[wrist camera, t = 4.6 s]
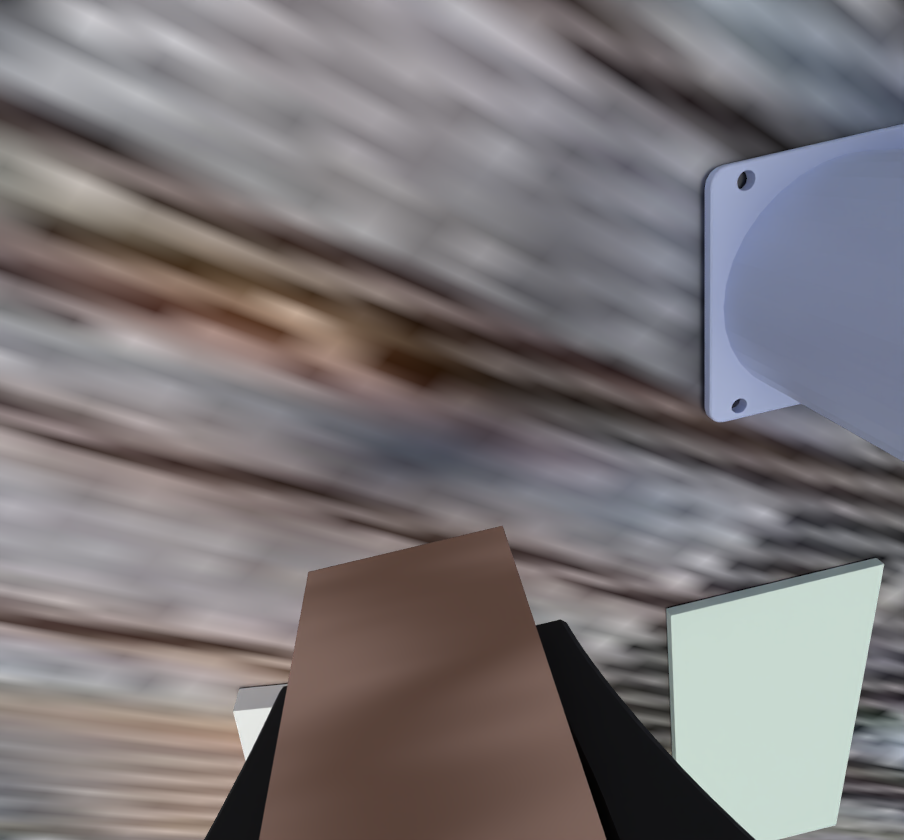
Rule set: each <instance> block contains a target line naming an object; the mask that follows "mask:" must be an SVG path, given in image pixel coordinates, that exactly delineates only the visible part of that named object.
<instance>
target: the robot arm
mask: <svg viewBox="0 0 904 840" xmlns="http://www.w3.org/2000/svg"><path fill="white" fill-rule="evenodd" d="M742 172H745V173H746V175H747V181H746V184H745V185H744V186H743V188H741V189H739V188H738V185H737V181H738V177H739V176H740V174H741V173H742ZM738 399H740V402H739V404H738V405H737V406H736V407H734V408H732V405H733V403H734V402H735V401H736V400H738ZM798 404H803V405H805V406H806V407H808V408H810V409H812V410H813V411H815V412H817V413H819V414H820V415H822V416H824V417H826V418H827V419H829V420H831V421H833V422H834V423H836V424H838V425H840V426H842V427H843V428H845V429H847V430H849V431H850V432H852V433H854V434H856V435H857V436H859V437H861V438H863V439H864V440H866V441H868V442H870V443H871V444H873V445H875V446H877V447H878V448H880V449H882V450H884V451H886V452H887V453H889V454H891V455H893V456H894V457H896V458H898V459H900V460H901V461H903V462H904V124H900V125H895V126H891V127H886V128H882V129H878V130H873V131H869V132H865V133H860V134H856V135H851V136H847V137H843V138H838V139H834V140H830V141H825V142H821V143H816V144H812V145H808V146H803V147H799V148H795V149H790V150H786V151H781V152H777V153H773V154H768V155H764V156H760V157H755V158H751V159H746V160H742V161H738V162H733V163H729V164H725V165H721V166H719V167H717V168H715V169H714V170H713V171H712V172H711V173H710V174H709V176H708V178H707V180H706V184H705V412H706V414H707V415H708V416H709V417H710V418H711V419H712V420H714V421H716V422H726V421H730V420H734V419H738V418H743V417H747V416H751V415H755V414H760V413H764V412H768V411H772V410H776V409H781V408H785V407H789V406H793V405H798ZM536 628H537V631H538V634H539V637H540V640H541V643H542V646H543V649H544V652H545V655H546V659H547V662H548V665H549V668H550V671H551V674H552V677H553V680H554V683H555V686H556V689H557V692H558V695H559V698H560V701H561V704H562V707H563V710H564V713H565V716H566V719H567V722H568V725H569V728H570V731H571V734H572V737H573V740H574V743H575V746H576V749H577V752H578V755H579V758H580V761H581V764H582V767H583V770H584V773H585V776H586V779H587V782H588V785H589V788H590V791H591V794H592V797H593V800H594V803H595V806H596V809H597V812H598V815H599V818H600V822H601V825H602V828H603V831H604V834H605V837H606V840H756V839H754V838H753V837H752V836H751V835H750V834H749V833H748V832H747V831H746V830H745V829H744V828H743V827H741V826H740V825H739V824H738V823H737V822H736V821H735V820H734V819H733V818H732V817H731V816H730V815H729V814H728V813H727V812H726V811H725V810H724V809H723V808H722V807H721V806H720V805H719V804H718V803H717V802H716V801H714V800H713V799H712V798H711V797H710V796H709V795H708V794H707V793H706V792H705V791H704V790H703V789H702V788H701V787H700V786H699V784H698V783H697V782H696V781H695V780H694V779H693V778H692V777H691V776H690V775H689V774H688V773H687V772H686V771H685V770H684V769H683V768H682V767H681V766H680V765H679V764H678V763H677V761H676V760H675V759H674V758H673V757H672V756H671V755H670V754H669V753H668V752H667V751H666V750H665V749H664V748H663V746H662V745H661V744H660V743H659V742H658V741H657V740H656V739H655V738H654V736H653V735H652V734H651V733H650V732H649V731H648V730H647V729H646V728H645V726H644V725H643V724H642V723H641V722H640V720H639V719H638V718H637V717H636V716H635V715H634V713H633V712H632V711H631V710H630V709H629V707H628V706H627V705H626V704H625V703H624V702H623V700H622V699H621V698H620V697H619V696H618V694H617V693H616V692H615V691H614V689H613V688H612V687H611V686H610V684H609V683H608V682H607V681H606V679H605V678H604V677H603V675H602V674H601V673H600V671H599V670H598V669H597V667H596V666H595V665H594V663H593V662H592V661H591V659H590V658H589V656H588V655H587V654H586V652H585V651H584V649H583V648H582V646H581V645H580V643H579V642H578V640H577V639H576V637H575V636H574V634H573V633H572V631H571V629H570V628H569V626H568V624H567V623H566V622H564V621H562V620H557V621H553V622H548V623H544V624H540V625H536ZM287 686H288V685H287ZM287 686H283V688H282V689H281V691H280V692H279V694H278V696H277V698H276V700H275V702H274V704H273V707H272V709H271V711H270V713H269V715H268V717H267V719H266V721H265V723H264V725H263V727H262V729H261V731H260V733H259V735H258V738H257V740H256V742H255V744H254V746H253V748H252V750H251V752H250V754H249V756H248V758H247V760H246V762H245V764H244V766H243V768H242V770H241V772H240V774H239V775H238V777H237V779H236V781H235V783H234V785H233V787H232V789H231V791H230V793H229V794H228V796H227V798H226V800H225V802H224V804H223V806H222V808H221V810H220V812H219V813H218V815H217V817H216V819H215V821H214V823H213V825H212V826H211V828H210V830H209V832H208V834H207V835H206V837H205V839H204V840H259V837H260V832H261V826H262V821H263V816H264V810H265V805H266V799H267V794H268V788H269V783H270V778H271V772H272V767H273V761H274V756H275V751H276V745H277V740H278V734H279V729H280V723H281V718H282V713H283V707H284V702H285V696H286V691H287Z"/></svg>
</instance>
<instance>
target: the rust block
mask: <svg viewBox="0 0 904 840" xmlns="http://www.w3.org/2000/svg"><path fill="white" fill-rule="evenodd" d="M259 840H606V837H605V834H604V831H603V828H602V825H601V822H600V818H599V815H598V812H597V809H596V806H595V803H594V800H593V797H592V794H591V791H590V788H589V785H588V782H587V779H586V776H585V773H584V770H583V767H582V764H581V761H580V758H579V755H578V752H577V749H576V746H575V743H574V740H573V737H572V734H571V731H570V728H569V725H568V722H567V719H566V716H565V713H564V710H563V707H562V704H561V701H560V698H559V695H558V692H557V689H556V686H555V683H554V680H553V677H552V674H551V671H550V668H549V665H548V662H547V659H546V655H545V652H544V649H543V646H542V643H541V640H540V637H539V634H538V631H537V628H536V625H535V622H534V619H533V616H532V613H531V610H530V607H529V604H528V601H527V598H526V595H525V592H524V589H523V586H522V583H521V580H520V577H519V574H518V571H517V568H516V565H515V562H514V559H513V556H512V553H511V550H510V547H509V544H508V541H507V538H506V535H505V532H504V529H503V526H499V527H495V528H491V529H487V530H483V531H478V532H474V533H470V534H466V535H462V536H457V537H453V538H449V539H445V540H441V541H436V542H432V543H428V544H424V545H420V546H415V547H411V548H407V549H403V550H399V551H394V552H390V553H386V554H382V555H378V556H373V557H369V558H365V559H361V560H357V561H352V562H348V563H344V564H340V565H336V566H331V567H327V568H323V569H319V570H315V571H310V572H308V577H307V583H306V588H305V593H304V599H303V604H302V610H301V615H300V620H299V626H298V631H297V637H296V642H295V648H294V653H293V658H292V664H291V669H290V675H289V680H288V686H287V691H286V696H285V702H284V707H283V713H282V718H281V723H280V729H279V734H278V740H277V745H276V751H275V756H274V761H273V767H272V772H271V778H270V783H269V788H268V794H267V799H266V805H265V810H264V816H263V821H262V826H261V832H260V837H259Z"/></svg>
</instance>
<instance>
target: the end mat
mask: <svg viewBox="0 0 904 840" xmlns="http://www.w3.org/2000/svg"><path fill="white" fill-rule="evenodd" d="M883 568H884V564H883V563H882V562H881V561H880V560H878V559H877V558H873V559H869V560H865V561H861V562H857V563H853V564H849V565H844V566H840V567H836V568H832V569H828V570H824V571H820V572H816V573H811V574H807V575H803V576H799V577H795V578H791V579H787V580H782V581H778V582H774V583H770V584H766V585H762V586H758V587H753V588H749V589H745V590H741V591H737V592H733V593H729V594H725V595H720V596H716V597H712V598H708V599H704V600H700V601H696V602H691V603H687V604H683V605H679V606H675V607H671V608H667V609H666V614H667V638H668V663H669V687H670V711H671V735H672V757H673V758H674V759H675V760H676V761H677V763H678V764H679V765H680V766H681V767H682V768H683V769H684V770H685V771H686V772H687V773H688V774H689V775H690V776H691V777H692V778H693V779H694V780H695V781H696V782H697V783H698V784H699V786H700V787H701V788H702V789H703V790H704V791H705V792H706V793H707V794H708V795H709V796H710V797H711V798H712V799H713V800H714V801H716V802H717V803H718V804H719V805H720V806H721V807H722V808H723V809H724V810H725V811H726V812H727V813H728V814H729V815H730V816H731V817H732V818H733V819H734V820H735V821H736V822H737V823H738V824H739V825H740V826H741V827H743V828H744V829H745V830H746V831H747V832H748V833H749V834H750V835H751V836H752V837H753V838H754V839H756V840H778V839H782V838H786V837H790V836H794V835H798V834H802V833H806V832H810V831H814V830H818V829H822V828H826V827H830V826H834V825H836V822H837V816H838V811H839V806H840V800H841V795H842V789H843V784H844V778H845V773H846V768H847V762H848V757H849V751H850V746H851V741H852V735H853V730H854V724H855V719H856V714H857V708H858V703H859V697H860V692H861V687H862V681H863V676H864V670H865V665H866V660H867V654H868V649H869V643H870V638H871V633H872V627H873V622H874V616H875V611H876V605H877V600H878V595H879V589H880V584H881V578H882V573H883Z"/></svg>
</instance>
